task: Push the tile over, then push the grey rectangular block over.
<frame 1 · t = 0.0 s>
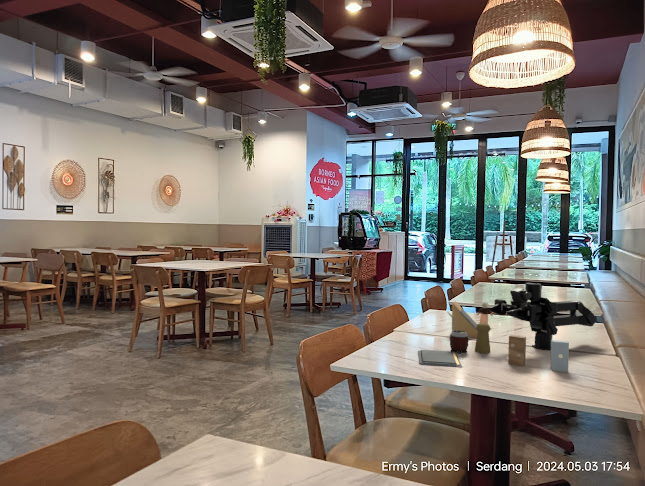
hand: (498, 311, 183), 17 cm above the table, tool horizontal, fingers open, 9 cm apart
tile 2: (516, 364, 169), on the table
wallet: (438, 361, 174), on the table
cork: (482, 351, 187), on the table
mate gourd: (457, 352, 186), on the table
grandmother figurine: (484, 326, 238), on the table
sandwich container: (469, 335, 216), on the table
grey rectangular block 1: (559, 370, 162), on the table
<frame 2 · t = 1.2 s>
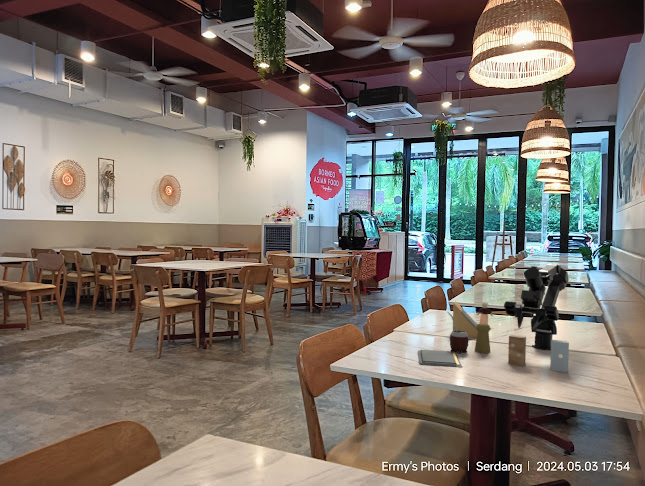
hand: (525, 328, 175), 12 cm above the table, tool tilted 45°, fingers open, 4 cm apart
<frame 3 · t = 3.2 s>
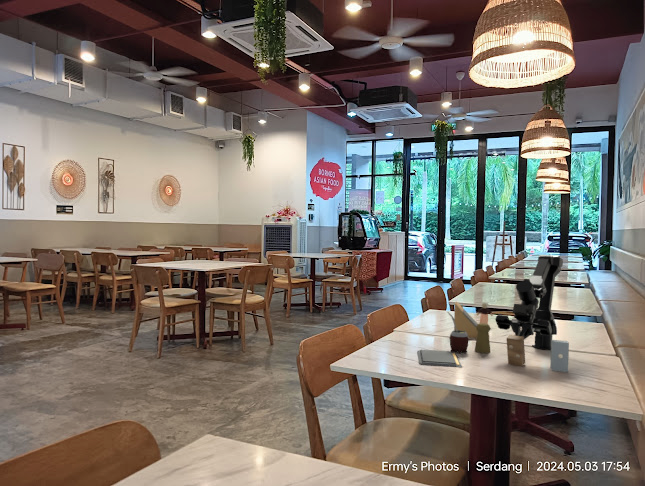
hand: (517, 343, 169), 7 cm above the table, tool tilted 45°, fingers closed
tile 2: (516, 363, 169), on the table, tilted 14°, touching gripper
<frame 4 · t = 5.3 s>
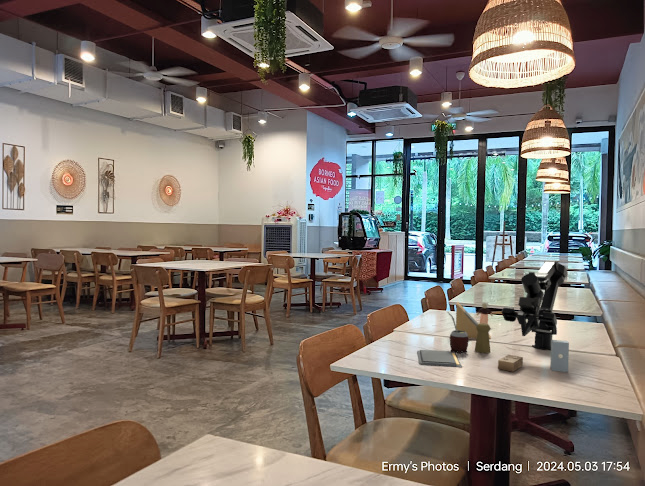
hand: (523, 335, 174), 9 cm above the table, tool tilted 45°, fingers closed
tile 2: (515, 360, 168), point 2 cm above the table, tilted 90°
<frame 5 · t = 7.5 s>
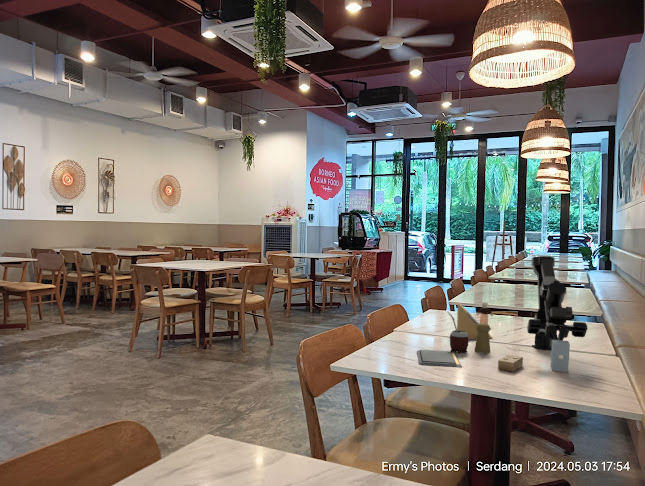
hand: (559, 348, 163), 7 cm above the table, tool tilted 45°, fingers closed
grey rectangular block 1: (559, 369, 162), on the table, tilted 8°
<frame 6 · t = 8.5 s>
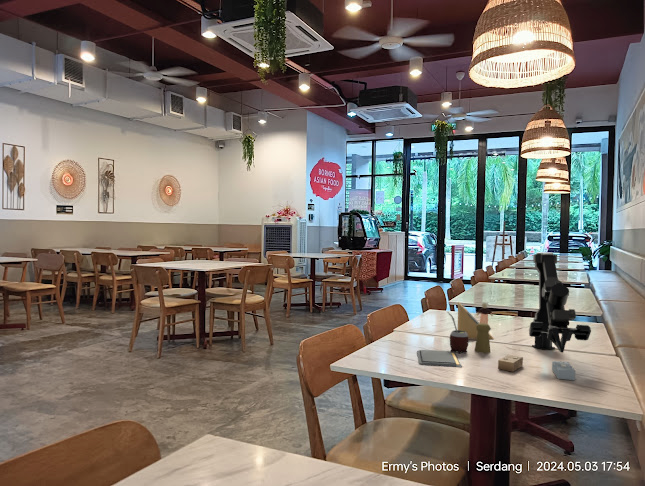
hand: (562, 352, 158), 7 cm above the table, tool tilted 45°, fingers closed
grey rectangular block 1: (560, 366, 161), point 2 cm above the table, tilted 91°
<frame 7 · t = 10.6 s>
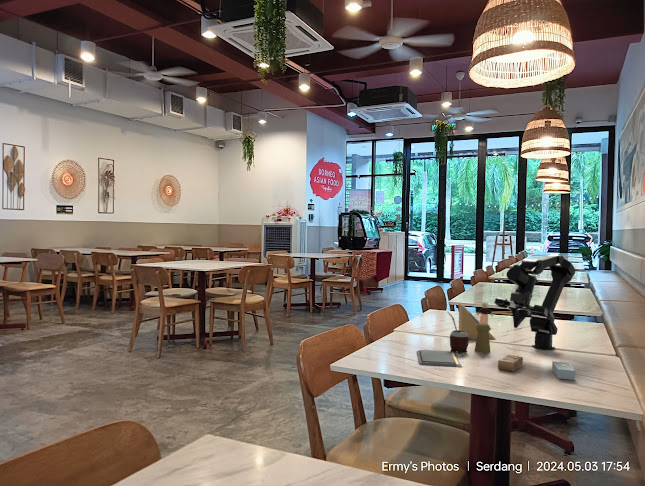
hand: (515, 327, 182), 10 cm above the table, tool tilted 25°, fingers closed
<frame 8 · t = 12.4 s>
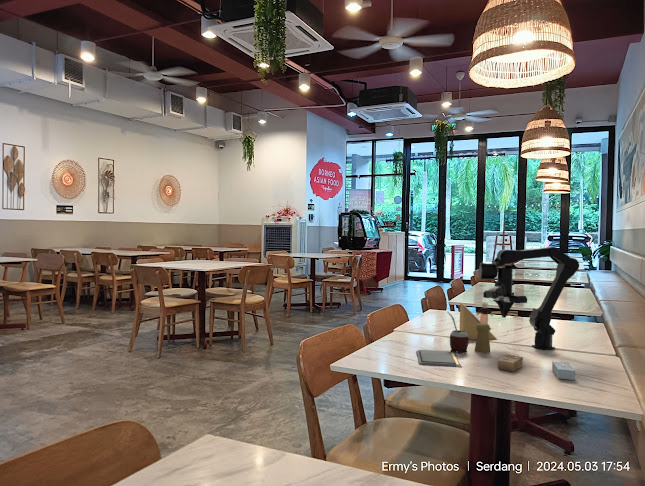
hand: (503, 317, 195), 12 cm above the table, tool pointing down, fingers closed
at the end: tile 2 tilted 90°; grey rectangular block 1 tilted 90°; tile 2 14.3 cm from the grey rectangular block 1 (horizontally) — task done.
